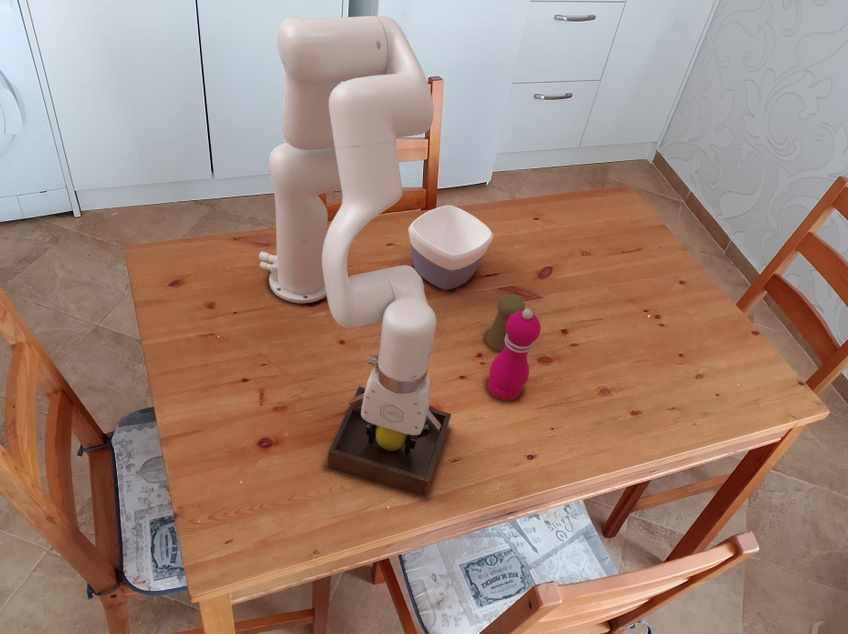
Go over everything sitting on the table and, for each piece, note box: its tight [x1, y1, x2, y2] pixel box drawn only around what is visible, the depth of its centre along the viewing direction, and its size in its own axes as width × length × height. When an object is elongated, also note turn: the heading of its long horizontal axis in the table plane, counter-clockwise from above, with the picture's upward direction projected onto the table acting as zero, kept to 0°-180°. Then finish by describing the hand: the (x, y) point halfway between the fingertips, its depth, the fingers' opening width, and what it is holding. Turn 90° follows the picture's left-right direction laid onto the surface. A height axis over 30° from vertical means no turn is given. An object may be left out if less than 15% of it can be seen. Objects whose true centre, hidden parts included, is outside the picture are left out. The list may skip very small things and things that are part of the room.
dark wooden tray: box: [327, 386, 452, 497], centre depth 121 cm, size 17×15×4 cm
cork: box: [485, 293, 526, 353], centre depth 141 cm, size 6×6×11 cm
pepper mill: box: [487, 308, 542, 401], centre depth 129 cm, size 7×7×20 cm
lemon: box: [375, 425, 408, 451], centre depth 120 cm, size 6×6×8 cm
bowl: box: [407, 204, 494, 291], centre depth 153 cm, size 15×15×11 cm
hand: (390, 442), depth 122 cm, fingers closed on lemon, 5 cm apart
